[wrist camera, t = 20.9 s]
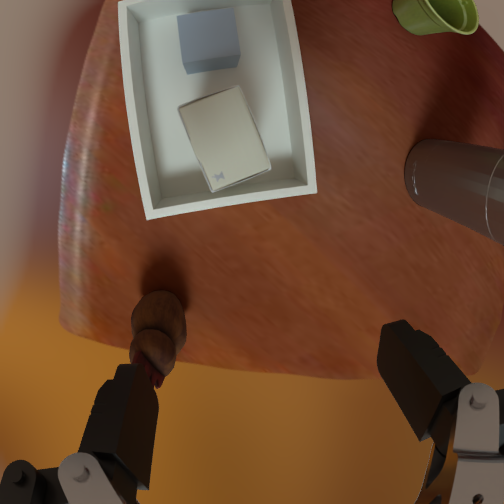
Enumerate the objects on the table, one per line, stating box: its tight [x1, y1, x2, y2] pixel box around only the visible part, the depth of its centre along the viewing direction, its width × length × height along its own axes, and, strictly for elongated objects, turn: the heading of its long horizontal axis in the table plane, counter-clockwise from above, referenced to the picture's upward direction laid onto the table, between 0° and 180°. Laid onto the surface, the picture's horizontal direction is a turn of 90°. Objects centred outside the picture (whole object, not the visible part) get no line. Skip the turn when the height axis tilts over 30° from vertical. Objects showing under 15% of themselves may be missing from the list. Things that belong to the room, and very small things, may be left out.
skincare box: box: [177, 85, 271, 193], centre depth 24 cm, size 6×4×12 cm
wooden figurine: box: [129, 290, 187, 389], centre depth 29 cm, size 7×6×15 cm
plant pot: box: [392, 0, 479, 35], centre depth 22 cm, size 9×9×9 cm
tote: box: [118, 0, 317, 220], centre depth 26 cm, size 16×22×6 cm
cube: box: [177, 8, 241, 75], centre depth 23 cm, size 5×5×5 cm
